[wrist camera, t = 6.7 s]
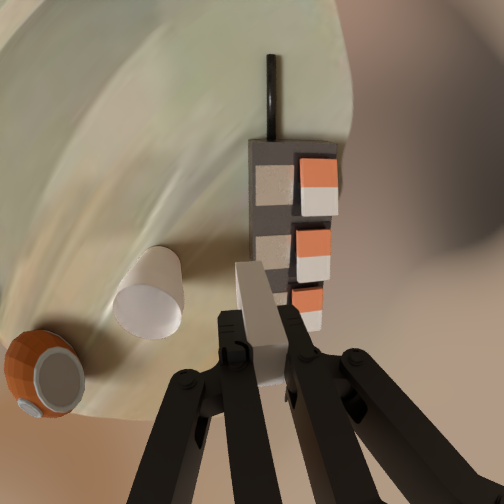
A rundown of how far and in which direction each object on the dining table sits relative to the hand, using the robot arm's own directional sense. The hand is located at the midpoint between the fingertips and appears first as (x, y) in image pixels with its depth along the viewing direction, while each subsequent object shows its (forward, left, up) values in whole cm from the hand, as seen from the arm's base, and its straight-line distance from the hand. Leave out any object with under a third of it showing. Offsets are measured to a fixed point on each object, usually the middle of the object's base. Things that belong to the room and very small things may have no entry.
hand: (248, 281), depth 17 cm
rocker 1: (0, +11, -19) cm, 22 cm away
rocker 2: (+9, +11, -19) cm, 24 cm away
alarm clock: (+32, -41, -25) cm, 58 cm away
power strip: (+3, +9, -24) cm, 26 cm away
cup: (+12, -11, -25) cm, 30 cm away
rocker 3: (+19, +11, -19) cm, 29 cm away
